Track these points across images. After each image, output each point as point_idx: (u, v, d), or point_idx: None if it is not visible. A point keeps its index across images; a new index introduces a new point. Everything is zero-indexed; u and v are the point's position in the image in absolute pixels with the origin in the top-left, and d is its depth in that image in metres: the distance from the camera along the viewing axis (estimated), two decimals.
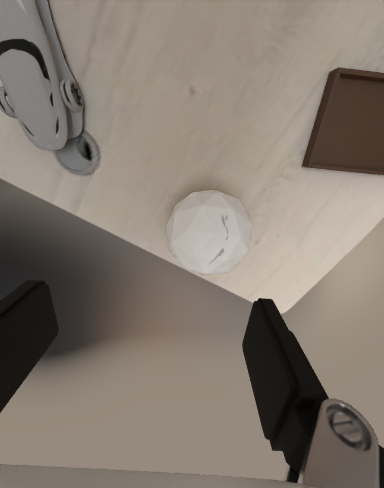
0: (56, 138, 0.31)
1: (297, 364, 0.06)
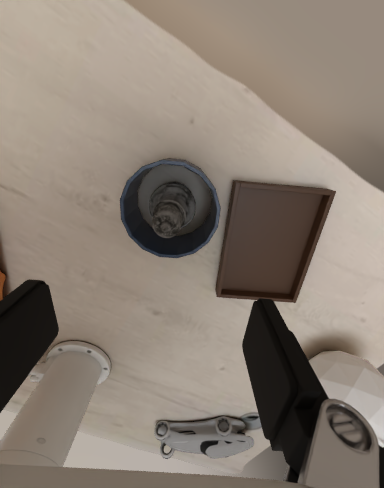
0: (248, 442, 0.49)
1: (297, 364, 0.06)
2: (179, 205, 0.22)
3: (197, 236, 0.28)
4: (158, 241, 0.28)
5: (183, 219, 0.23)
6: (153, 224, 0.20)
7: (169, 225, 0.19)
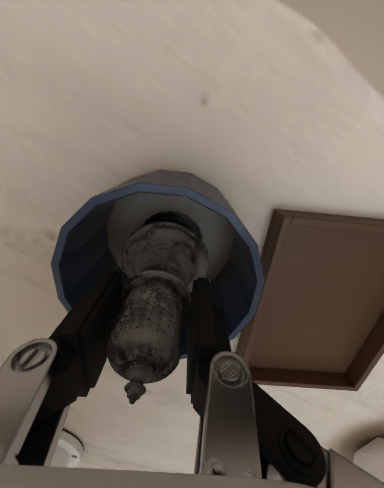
0: None
1: (205, 325, 0.07)
2: (178, 282, 0.10)
3: None
4: None
5: (186, 308, 0.10)
6: (108, 358, 0.07)
7: (148, 371, 0.07)
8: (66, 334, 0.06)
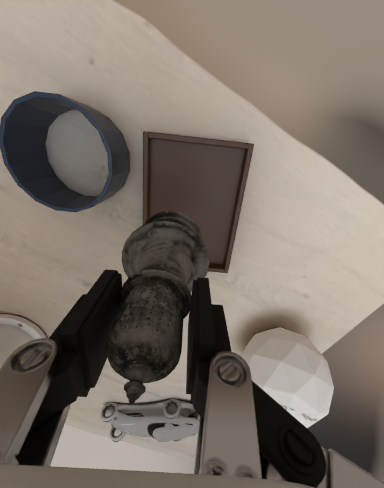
0: (196, 425, 0.47)
1: (205, 325, 0.07)
2: (178, 282, 0.10)
3: None
4: (65, 198, 0.26)
5: (186, 308, 0.10)
6: (108, 357, 0.07)
7: (148, 371, 0.07)
8: (66, 334, 0.06)
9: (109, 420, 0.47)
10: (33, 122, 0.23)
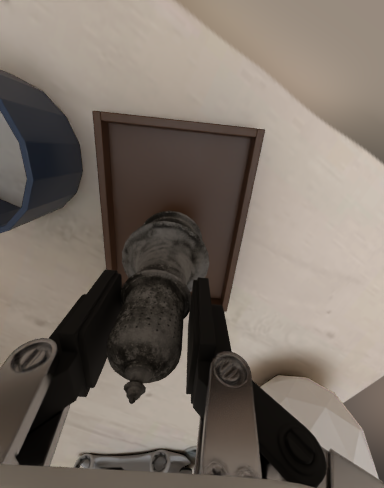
0: None
1: (205, 325, 0.07)
2: (178, 282, 0.10)
3: None
4: None
5: (186, 308, 0.10)
6: (108, 357, 0.07)
7: (148, 371, 0.07)
8: (66, 334, 0.06)
9: None
10: None
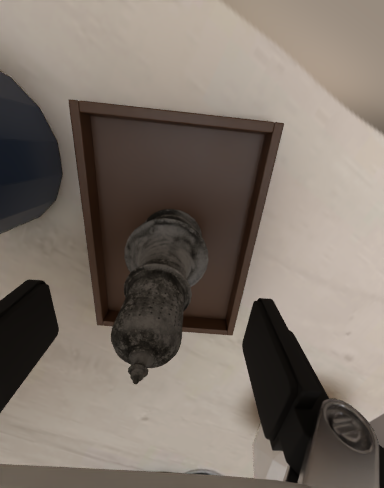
0: None
1: (297, 364, 0.06)
2: (178, 275, 0.10)
3: None
4: None
5: (186, 300, 0.11)
6: (113, 344, 0.08)
7: (150, 355, 0.07)
8: None
9: None
10: None
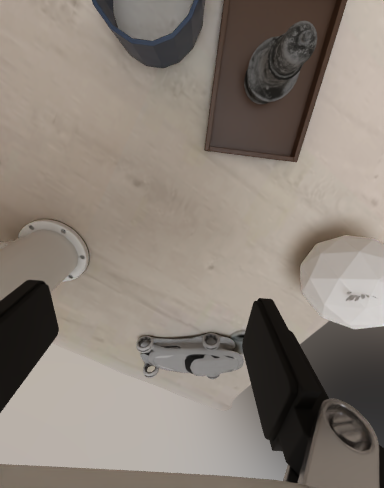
0: (237, 359, 0.45)
1: (297, 364, 0.06)
2: None
3: None
4: None
5: None
6: (287, 39, 0.17)
7: None
8: None
9: (146, 350, 0.45)
10: None
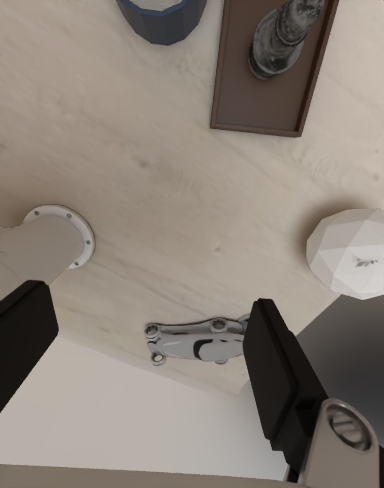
0: None
1: (297, 364, 0.06)
2: None
3: None
4: None
5: None
6: (295, 0, 0.17)
7: None
8: None
9: (153, 337, 0.45)
10: None
